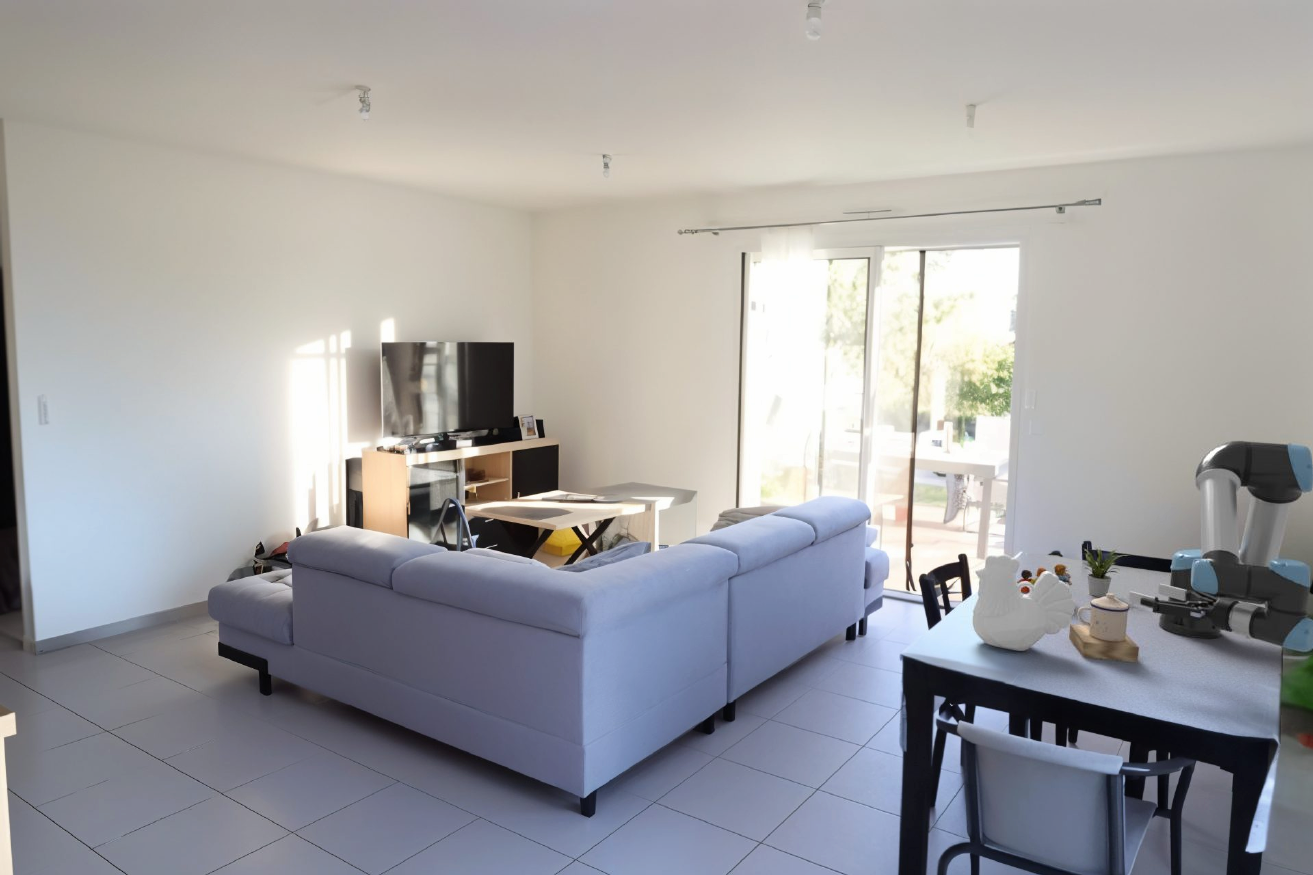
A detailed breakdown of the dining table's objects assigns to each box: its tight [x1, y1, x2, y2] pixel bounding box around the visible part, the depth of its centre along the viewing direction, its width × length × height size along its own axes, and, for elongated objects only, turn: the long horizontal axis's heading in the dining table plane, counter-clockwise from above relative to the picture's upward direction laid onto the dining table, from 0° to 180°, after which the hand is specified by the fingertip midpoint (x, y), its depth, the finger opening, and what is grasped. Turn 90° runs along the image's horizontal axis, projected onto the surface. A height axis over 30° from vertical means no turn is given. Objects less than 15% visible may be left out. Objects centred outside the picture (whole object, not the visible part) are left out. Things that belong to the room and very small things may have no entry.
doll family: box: [1016, 563, 1073, 594], centre depth 268 cm, size 21×10×13 cm, turn 108°
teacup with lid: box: [1076, 592, 1130, 642], centre depth 227 cm, size 12×9×12 cm
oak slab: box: [1068, 623, 1140, 663], centre depth 228 cm, size 13×15×4 cm
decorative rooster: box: [972, 553, 1077, 652], centre depth 226 cm, size 25×16×25 cm, turn 66°
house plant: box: [1081, 547, 1130, 598], centre depth 282 cm, size 14×14×16 cm
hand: (1144, 592), depth 218 cm, fingers open, 13 cm apart
